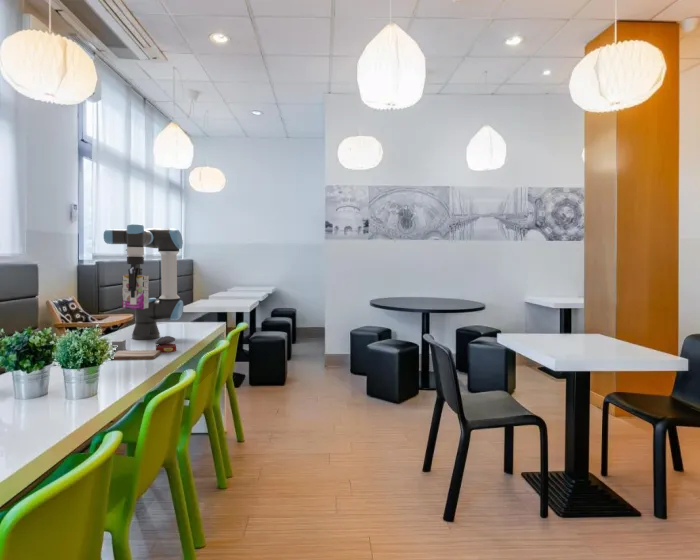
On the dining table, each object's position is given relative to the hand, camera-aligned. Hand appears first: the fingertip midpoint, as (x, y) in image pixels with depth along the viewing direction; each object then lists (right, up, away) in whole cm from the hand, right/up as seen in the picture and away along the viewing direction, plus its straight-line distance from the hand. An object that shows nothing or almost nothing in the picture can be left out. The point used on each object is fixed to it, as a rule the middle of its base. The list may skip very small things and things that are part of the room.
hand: (135, 303), depth 229 cm
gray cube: (-15, -25, +14) cm, 32 cm away
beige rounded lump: (+6, -25, +23) cm, 34 cm away
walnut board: (0, -26, 0) cm, 26 cm away
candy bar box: (0, -3, 0) cm, 3 cm away
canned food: (+9, -25, +14) cm, 31 cm away
